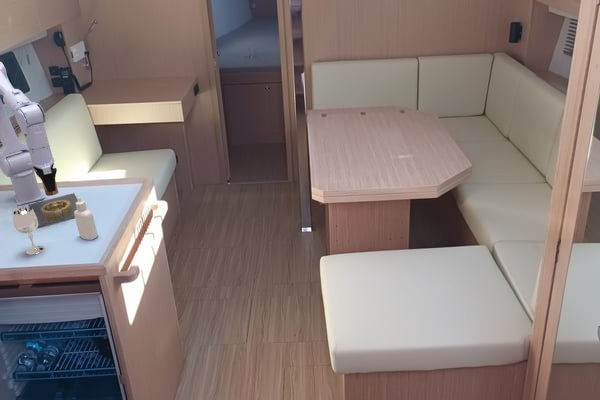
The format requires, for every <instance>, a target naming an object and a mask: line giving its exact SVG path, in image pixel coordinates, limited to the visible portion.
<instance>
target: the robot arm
mask: <svg viewBox="0 0 600 400" xmlns="http://www.w3.org/2000/svg"><path fill="white" fill-rule="evenodd" d="M0 94H1V96H2V97H3V98H2V99H3V101H2V99H1V97H0V143H1V144H2V148H1V149H0V170H1V172H2V174H3V175H4V176H6V177H8V178H10V183H11V185H12V188H13V191H14V199H15V202H16V205H17V206H21V205H25V204H31V203H33V202H34V203H35V202H39V201H43V199H45V198H44V196H43V193H42V190H41V188H40V187H39V183H38V181H37V180H38V179H37V177H38V178H39V179H40V180H41V183H42V182H43V183H44V185H45V188H46V189H47V191H48V192H53V191H56V185H55V181H56V176H57V171H58V169H57V168H56V167H54V166H55V163H54V162H55V159H54V157H53V153H52V150H51V147H50V146H51V145H50V141H49V139H48V135H47V132H46V127H45V124H44V123H46V119H47V118H46V113H45V111H44V108H43V107H42V106H41V104H40V103H39V102H35V101H33V102H32V101H31V99H29V98H28V96H27V95H26V94H24V92H23V91H22V90H20V89H19V88H14V86H13V85H12V83H11V82H10V81H9V79H8V74H7V69H6V67H5V65H4V64H3V62H2V61H0ZM4 104H5V105H6V106H7V107H8V109H9V110H10V111H11V112H12V113H13V114H14V116H15V120H16V123H17V124H18V126H19V129H20V132H21V133H22V134H23V136H24V138H25V141H26V142H25V143H23V142H20V141H19V138H18V136H17V133H16V132H15V131H16V130H15V129H14V126H13V125H12V121H11V119H10V117H9V114H8V113H7V110H6V108H5V106H4ZM11 154H12V155H11ZM43 183H42V184H43Z"/></svg>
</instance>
